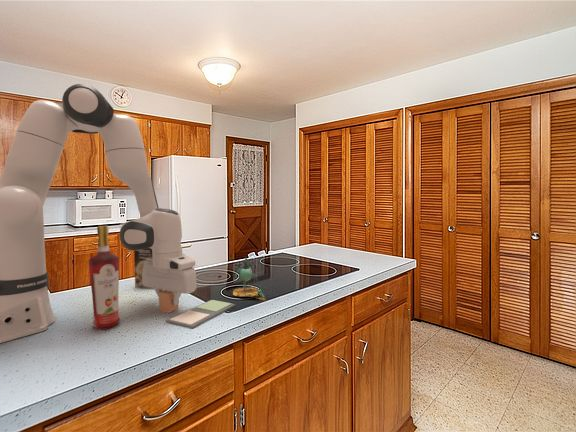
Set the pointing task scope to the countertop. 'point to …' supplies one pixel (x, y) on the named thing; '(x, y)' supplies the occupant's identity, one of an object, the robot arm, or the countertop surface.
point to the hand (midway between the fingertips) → (168, 303)
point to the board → (200, 314)
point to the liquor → (104, 283)
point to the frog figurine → (245, 276)
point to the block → (166, 301)
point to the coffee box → (141, 265)
